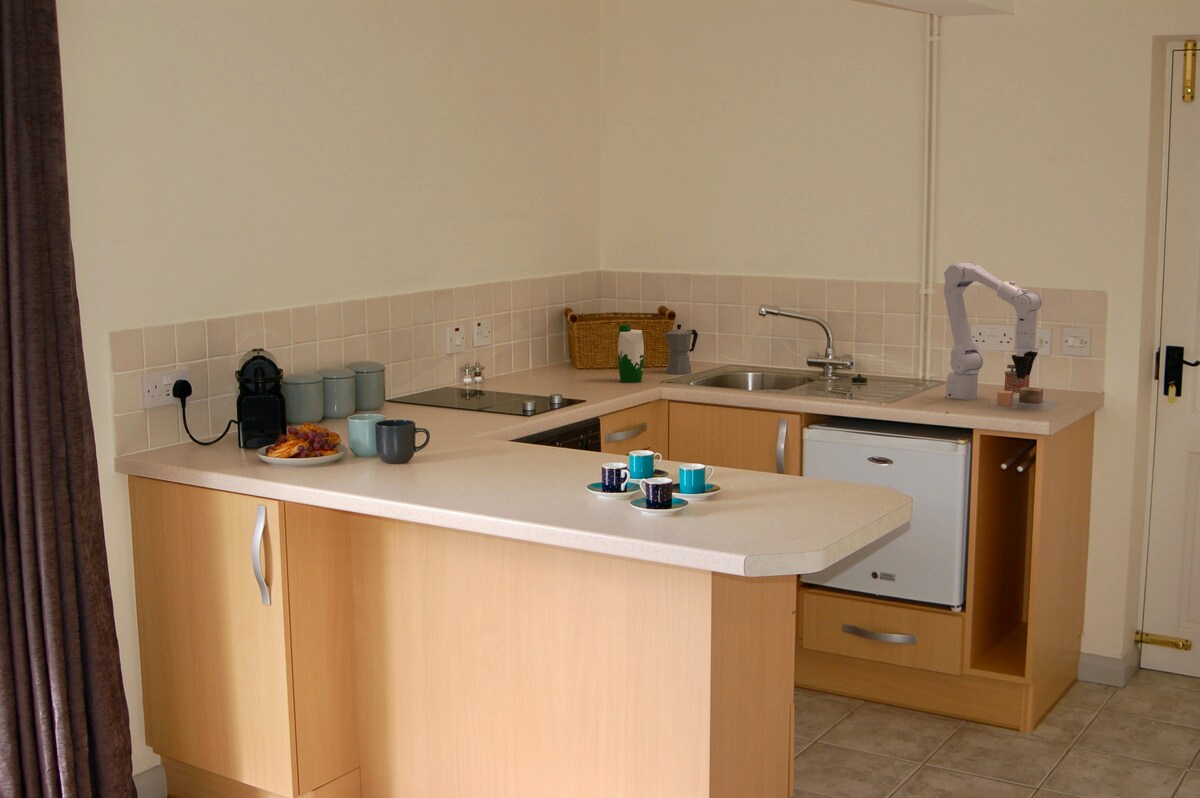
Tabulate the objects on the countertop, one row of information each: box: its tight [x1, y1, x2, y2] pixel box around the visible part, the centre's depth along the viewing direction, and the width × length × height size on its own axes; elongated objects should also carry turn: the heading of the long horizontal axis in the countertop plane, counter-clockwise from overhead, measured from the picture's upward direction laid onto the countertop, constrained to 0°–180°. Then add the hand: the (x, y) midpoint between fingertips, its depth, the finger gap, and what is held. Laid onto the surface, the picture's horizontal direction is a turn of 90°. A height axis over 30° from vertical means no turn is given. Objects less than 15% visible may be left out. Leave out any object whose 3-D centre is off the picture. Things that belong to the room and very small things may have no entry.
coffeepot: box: [664, 323, 699, 376], centre depth 472 cm, size 15×9×18 cm, turn 125°
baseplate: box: [988, 396, 1061, 411], centre depth 401 cm, size 18×18×1 cm
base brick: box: [1018, 386, 1044, 404], centre depth 403 cm, size 6×6×4 cm
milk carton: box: [617, 324, 645, 384], centre depth 453 cm, size 9×9×20 cm
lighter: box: [1003, 363, 1031, 393], centre depth 422 cm, size 8×3×10 cm, turn 65°
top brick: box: [996, 389, 1014, 406], centre depth 399 cm, size 4×4×4 cm
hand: (1023, 376), depth 394 cm, fingers open, 7 cm apart
